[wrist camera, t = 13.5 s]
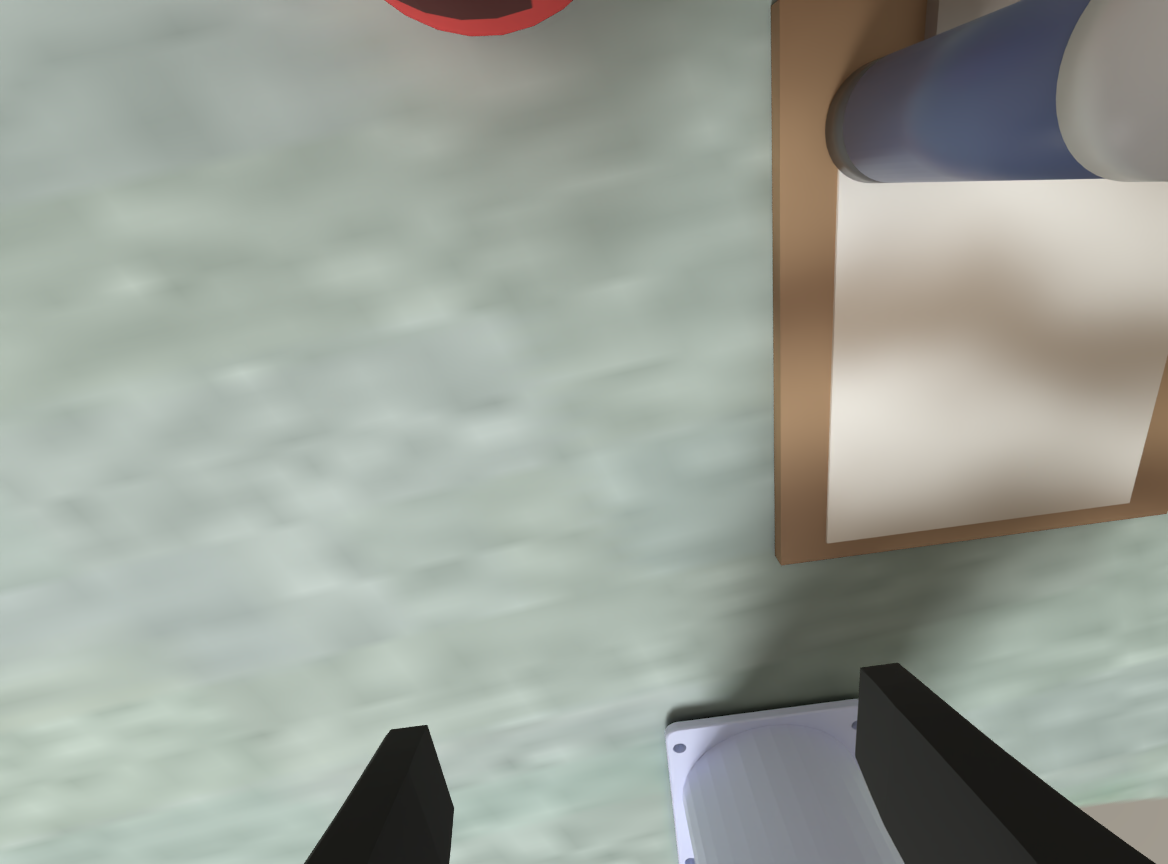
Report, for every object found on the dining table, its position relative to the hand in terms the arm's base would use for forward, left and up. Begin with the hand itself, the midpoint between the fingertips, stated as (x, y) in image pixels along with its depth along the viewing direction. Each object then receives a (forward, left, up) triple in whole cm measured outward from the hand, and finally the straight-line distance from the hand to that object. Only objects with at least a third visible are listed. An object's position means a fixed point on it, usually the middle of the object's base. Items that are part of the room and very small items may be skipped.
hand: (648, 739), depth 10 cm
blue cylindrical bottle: (+9, -8, -9) cm, 15 cm away
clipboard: (+4, -12, -10) cm, 16 cm away
